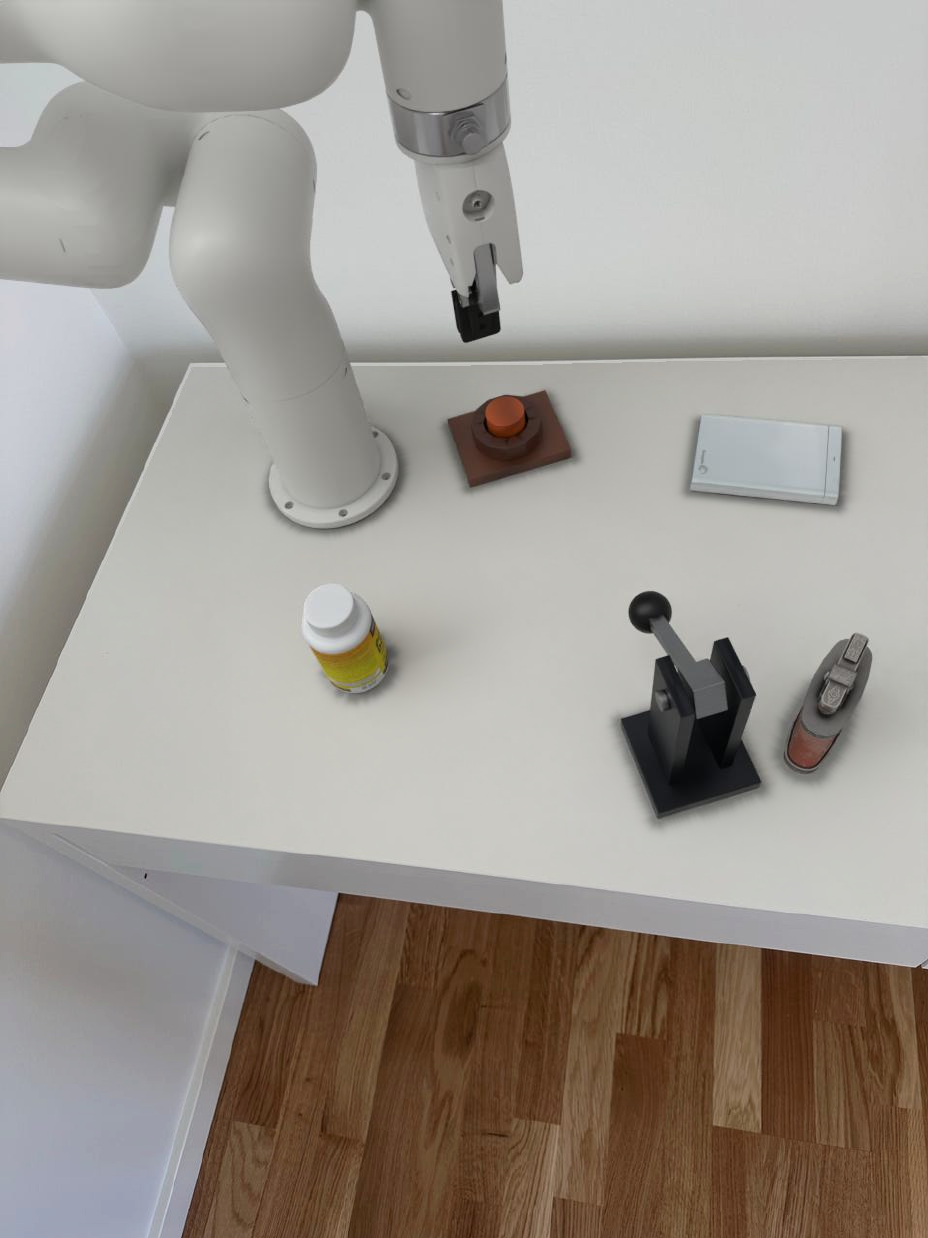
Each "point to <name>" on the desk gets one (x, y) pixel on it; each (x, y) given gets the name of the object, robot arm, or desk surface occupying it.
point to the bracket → (693, 739)
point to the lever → (680, 654)
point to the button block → (509, 441)
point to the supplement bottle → (344, 638)
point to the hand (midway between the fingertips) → (479, 331)
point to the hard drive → (768, 459)
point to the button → (505, 417)
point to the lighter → (828, 704)
